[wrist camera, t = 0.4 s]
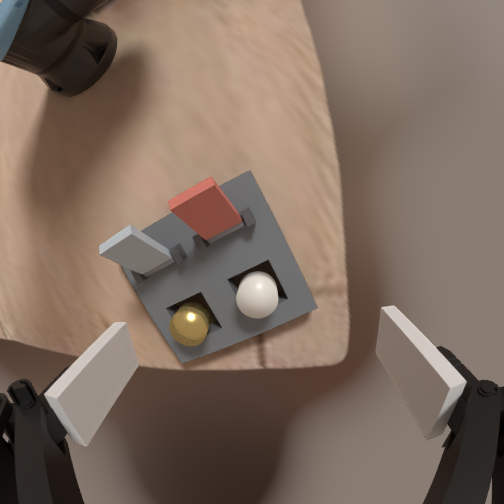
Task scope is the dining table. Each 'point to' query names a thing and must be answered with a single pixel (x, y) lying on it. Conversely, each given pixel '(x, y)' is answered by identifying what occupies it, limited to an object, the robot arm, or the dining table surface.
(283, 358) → the dining table surface
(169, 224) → the panel
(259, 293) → the button white
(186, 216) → the paddle red
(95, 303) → the dining table surface
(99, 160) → the dining table surface
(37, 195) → the dining table surface
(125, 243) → the paddle grey
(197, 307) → the button brass
